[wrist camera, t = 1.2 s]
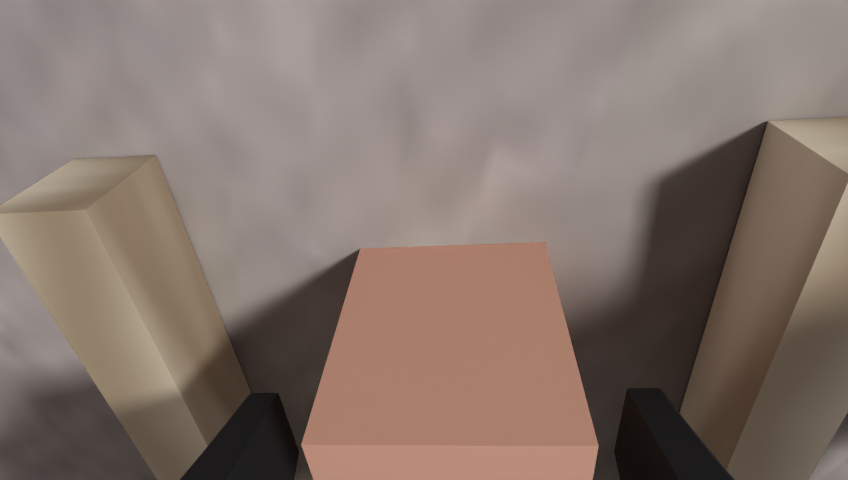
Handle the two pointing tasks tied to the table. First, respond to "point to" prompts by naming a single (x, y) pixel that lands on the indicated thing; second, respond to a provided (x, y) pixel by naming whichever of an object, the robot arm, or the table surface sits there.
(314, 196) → the table surface
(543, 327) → the block
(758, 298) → the wooden u-shaped frame
